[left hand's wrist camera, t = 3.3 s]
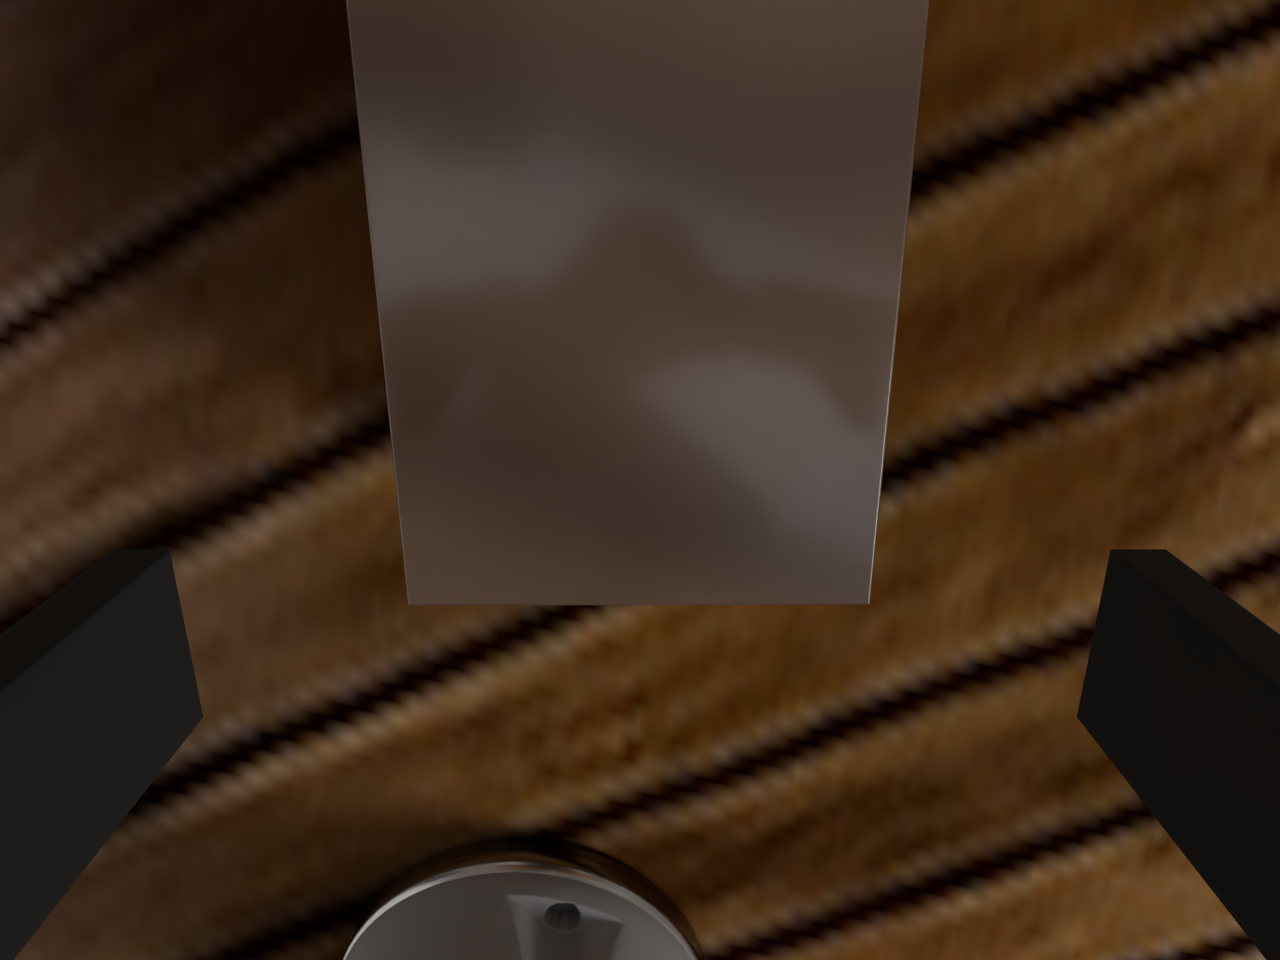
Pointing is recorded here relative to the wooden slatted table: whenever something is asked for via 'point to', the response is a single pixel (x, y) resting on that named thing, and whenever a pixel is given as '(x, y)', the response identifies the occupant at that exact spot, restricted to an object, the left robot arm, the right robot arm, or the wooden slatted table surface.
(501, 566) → the cabinet
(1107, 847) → the wooden slatted table surface
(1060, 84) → the wooden slatted table surface
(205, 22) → the wooden slatted table surface
